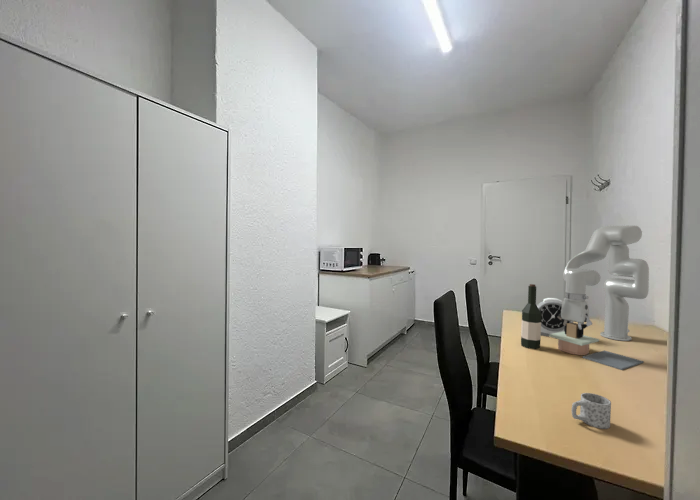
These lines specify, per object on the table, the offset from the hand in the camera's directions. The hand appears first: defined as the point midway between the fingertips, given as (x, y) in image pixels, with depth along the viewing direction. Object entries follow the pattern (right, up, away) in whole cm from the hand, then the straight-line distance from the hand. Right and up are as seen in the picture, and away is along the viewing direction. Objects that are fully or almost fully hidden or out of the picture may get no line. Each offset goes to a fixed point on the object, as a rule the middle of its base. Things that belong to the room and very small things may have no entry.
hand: (573, 335), depth 144 cm
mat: (+9, -8, -11) cm, 16 cm away
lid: (0, -2, 0) cm, 2 cm away
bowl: (0, -7, 0) cm, 7 cm away
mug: (-37, -9, -57) cm, 68 cm away
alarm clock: (+5, -7, +23) cm, 24 cm away
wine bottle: (-17, -7, +5) cm, 19 cm away
